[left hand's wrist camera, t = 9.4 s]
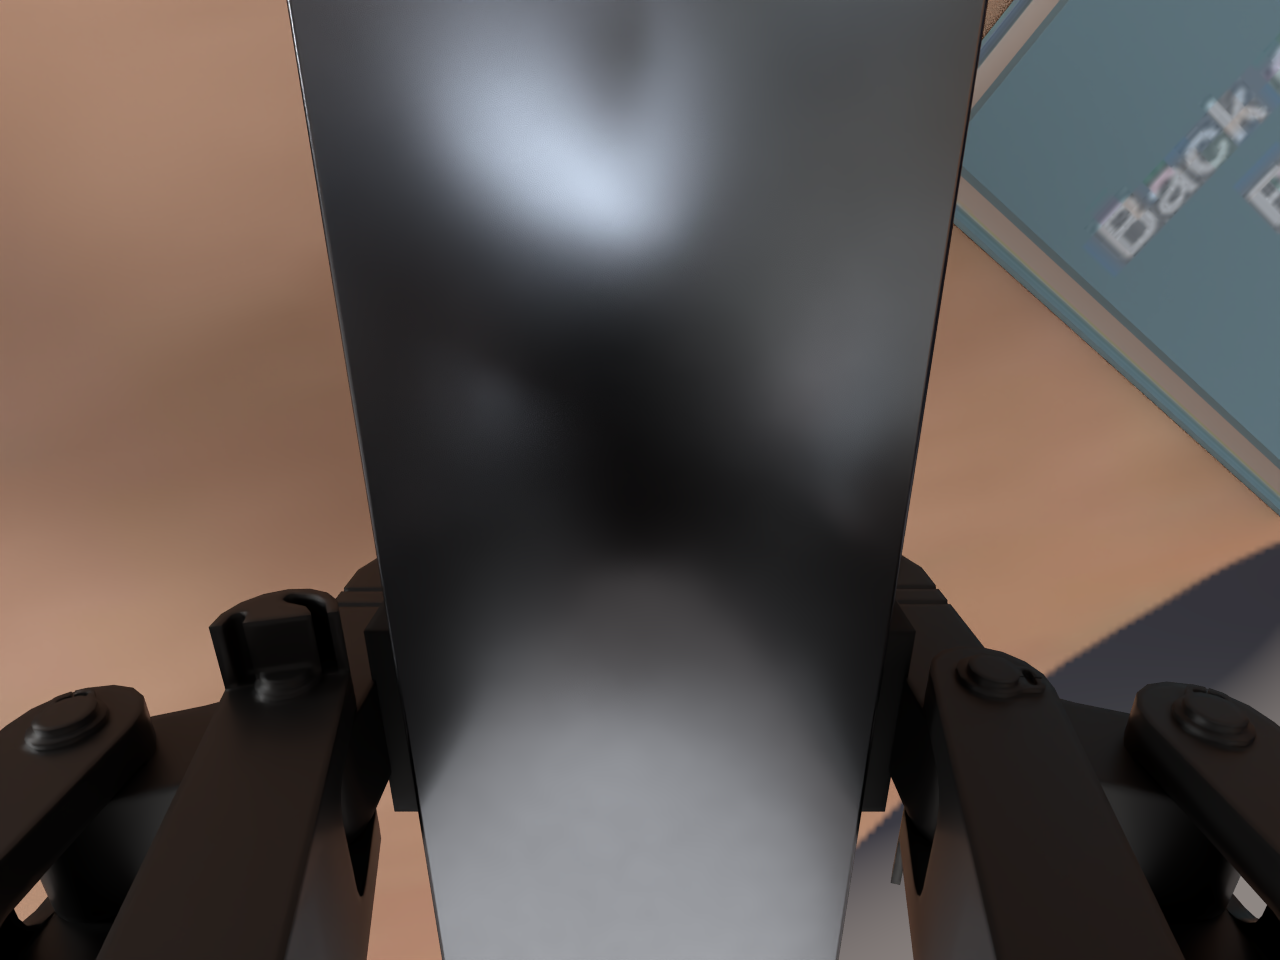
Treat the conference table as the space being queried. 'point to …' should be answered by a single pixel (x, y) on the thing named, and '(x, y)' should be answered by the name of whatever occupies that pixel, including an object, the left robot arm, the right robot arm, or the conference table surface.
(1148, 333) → the book
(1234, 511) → the conference table surface
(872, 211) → the bar
